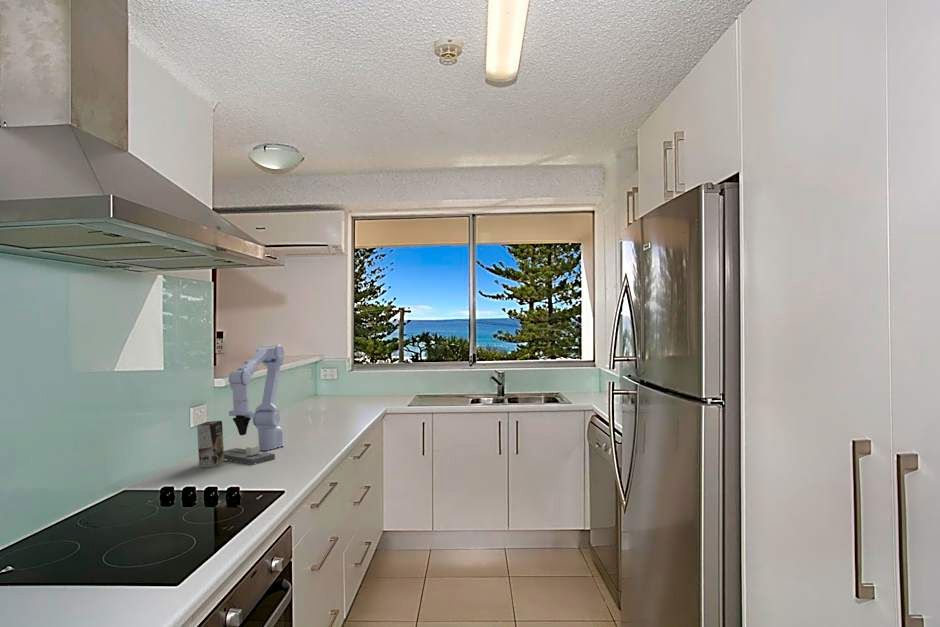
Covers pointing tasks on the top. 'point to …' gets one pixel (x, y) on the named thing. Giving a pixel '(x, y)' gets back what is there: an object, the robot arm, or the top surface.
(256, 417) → the robot arm
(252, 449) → the fader knob
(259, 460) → the fader panel
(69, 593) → the top surface
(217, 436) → the coffee box
